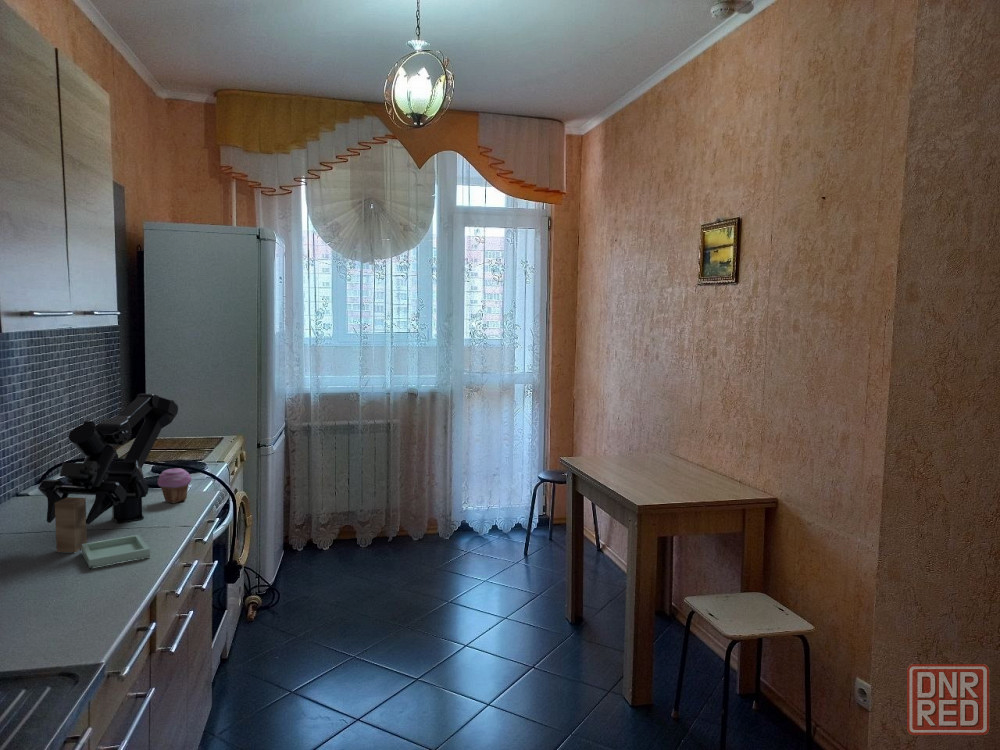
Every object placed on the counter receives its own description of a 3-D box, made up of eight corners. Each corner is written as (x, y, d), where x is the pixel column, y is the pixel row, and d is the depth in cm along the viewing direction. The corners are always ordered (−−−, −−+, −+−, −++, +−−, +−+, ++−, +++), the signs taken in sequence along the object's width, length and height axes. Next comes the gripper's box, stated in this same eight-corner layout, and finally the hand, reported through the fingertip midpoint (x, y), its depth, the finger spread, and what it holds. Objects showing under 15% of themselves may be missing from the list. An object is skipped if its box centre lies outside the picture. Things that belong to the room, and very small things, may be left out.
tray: (139, 542, 163) (138, 534, 163) (149, 558, 154) (149, 548, 154) (81, 553, 155) (81, 544, 155) (89, 569, 146) (89, 560, 146)
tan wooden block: (69, 545, 160) (67, 497, 159) (87, 546, 160) (85, 497, 159) (56, 552, 155) (54, 502, 154) (75, 553, 155) (73, 503, 154)
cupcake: (171, 507, 192) (170, 473, 191) (151, 502, 195) (150, 469, 194) (197, 499, 199) (197, 467, 198) (178, 495, 203) (177, 463, 202)
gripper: (41, 446, 160) (9, 504, 150) (118, 449, 159) (90, 507, 149) (65, 471, 168) (35, 527, 158) (137, 473, 168) (112, 530, 158)
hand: (67, 522), depth 156 cm, fingers open, 9 cm apart
